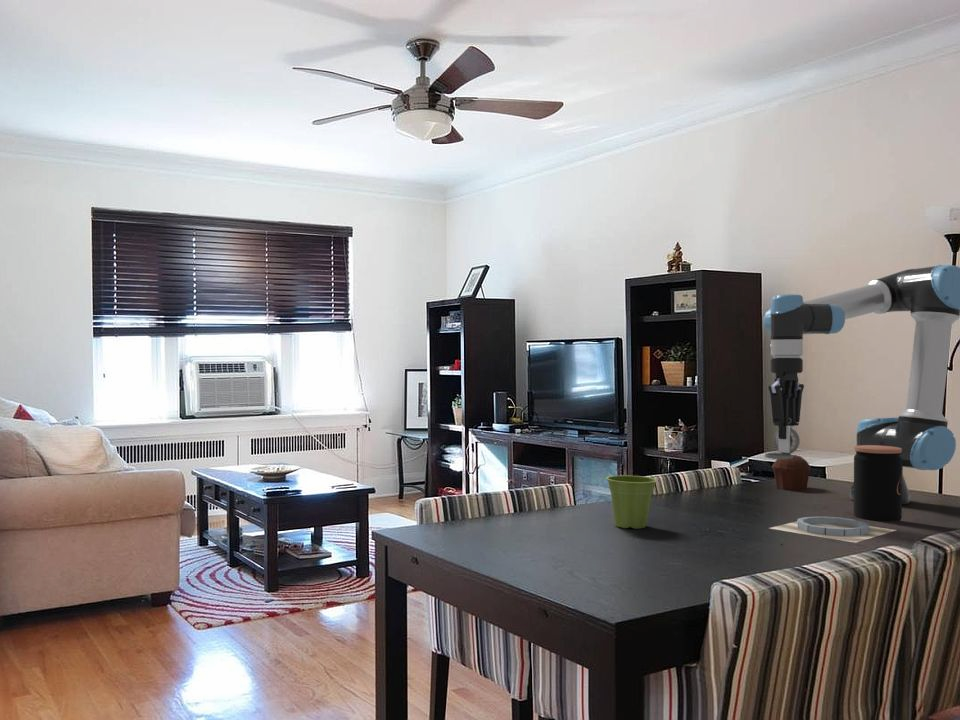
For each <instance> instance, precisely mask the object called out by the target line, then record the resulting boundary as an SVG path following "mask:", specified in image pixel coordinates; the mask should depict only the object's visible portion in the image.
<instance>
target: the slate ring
mask: <svg viewBox="0 0 960 720" xmlns="http://www.w3.org/2000/svg"><path fill="white" fill-rule="evenodd" d="M811 524H835V525H844V526H850V527H854V528H831V527H822V526H815V525H811ZM869 526H870V525H869V524H868V523H867V522H865V521H863V520H862V521H861V520H858V519H853V518H845V517H838V516H837V517H836V516H823V515H822V516H805V517H800V518H799V517H798V518H797V527H798V529H800V530H803V531H806V532H810V533H816V534H822V535H825V534H826V535H833V536H860V535H864V534H868V533H869Z"/></svg>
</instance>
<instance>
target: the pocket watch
mask: <svg viewBox="0 0 960 720" xmlns="http://www.w3.org/2000/svg"><path fill="white" fill-rule="evenodd" d="M788 418H789V417H788ZM789 419H790V420H791V418H789ZM791 421H792V420H791ZM791 421H790V422H789V423H791ZM789 423H788V424H789ZM791 437H792V438H791ZM792 439H793V440H792ZM791 440H792V441H791ZM800 440H801V439H800V436H799V434H798V432H797V431H796V430H795V429H794V430H793V429H792V428H790V453H784V452H774V453H773V452H771V453H770V452H768V453H764V457H765V458H767V459H772V460H777V459H791V458H793V455H794V454H793V453H795V452H796V451H797V450H798V448H799V446H800ZM792 442H793V443H792ZM791 443H792V444H791ZM773 444H774V448H776V450H777V451H778V429H777V430H776V431H775V432H774V435H773Z"/></svg>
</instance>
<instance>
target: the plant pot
mask: <svg viewBox="0 0 960 720" xmlns="http://www.w3.org/2000/svg"><path fill="white" fill-rule="evenodd" d="M605 479H606V481H607V482H608V488H609V491H610V495H611V496H610V497H611V505H612V510H613V512H612V513H613V520H614V524H615V527H617V528H622V529H628V528H632V529H635V530H639V529H645V528H646V527H647V522H648V518H649V512H650V507H651V500H652V497H653V492H654V489H655V485H656V483H657V482H658V480H657V478H653V477H649V476H643V475H642V476H641V475H611V476H606V477H605Z"/></svg>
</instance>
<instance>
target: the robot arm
mask: <svg viewBox="0 0 960 720" xmlns="http://www.w3.org/2000/svg"><path fill="white" fill-rule="evenodd" d="M893 312H910V316H911V317H912V318H913V320H914V321H915V327H914V328H915V329H914V334H913V335H914V336H913V344H912V352H911V353H912V354H911V362H910V371H909V379H908V388H907V395H906V396H907V398H906V405H905V406H906V407H905V409H904V411H902V412H901V413H900V414H899V415H898V416H897V417H896V416H895V417H879V418H877V417H876V418H875V417H874V418H873V417H872V418H865V419H864V418H863V419H861V420H859V421H858V423H857V430H856V446H860V445H876V446H891V447H898V448H901V449H902V452H901V454H900V457H901V458H902V505H908V504H909V503H910V500H911V496H910V491H909V489H908V486H907V483H906V480H905V476H904V473H903V472H904V470H903V469H904V468H909V469H916V470H920V471H937V470H940V469H942V468H945V466H946V465H948V464H949V463H950V462H951V461H952V459H953V458H954V455H955V452H956V449H957V441H956V437H955V436H954V433H953V431H952V430H951V429H950V428H948V424H949V423H948V419H947V418H946V417H945V416H944V414H943V407H944V399H945V389H946V383H947V374H948V373H947V372H948V364H949V355H950V346H951V338H952V337H951V336H952V331H953V329H952V327H953V324H954V323H955V322H956V321H958V320H959V319H960V266H957V265H953V264H948V265H947V264H945V265H944V264H937V265H933V266H926V267H919V268H918V267H917V268H909V269H905V270H901V271H898V272H895V273H892V274H889V275H886V276H883V277H880V278H877V279H873V280H870V281H869V282H867V284H866V285H865V286H860V287H856V288H851V289H848V290H844V291H841V292H836V293H833V294H829V295H825V296H820V297H817V298H812V299H810V300H805V301H804V297H803V295H801V294H778V295H777V294H776V295H774V296H773V297H772V298H771V300H770V308H769V309H768V310H767V311H766V312H765V314H764V317H763V325H764V329H765V330H766V331H767V333H769V334H770V344H769V346H770V355H771V356H772V358H771V359H770V372H771V373H774V375H775V377H774V380H773V381H774V382H773V384H768V391H769V394H770V395H769V396H770V403H771V415H772V423H773V426H775V427H776V426H777V427H778V429H777V430H778V450H777V453H781V452H784V453H790V428H792V429H793V430H795V426H796V427H797V426H799V424H800V419H801V409H802V399H803V392H804V387H805V385H804V384H803V383H799V376H798V374H802V373H803V371H804V369H803V368H804V367H803V366H804V365H803V364H804V363H803V362H804V359H802V358H803V357H801V356H803V355H804V350H803V349H804V348H803V347H804V344H803V342H804V335H822V334H824V335H831V334H832V335H834V334H837V333H839V332H841V331H842V330H843V328H844V326H845V323H846V320H849V319H852V318H856V317H857V318H858V317H860V316H863V315H867V314H871V313H874V314H877V315H881V314H886V313H893ZM788 417H789V418H791V420H792V421H791V420H790V419H789V418H788ZM790 421H791V423H789V422H790ZM788 423H789V424H788ZM791 438H792V437H791ZM792 440H793V439H792ZM792 440H791V441H792ZM792 443H793V442H792ZM792 443H791V444H792ZM790 454H791V453H790ZM849 499H850V500H851V501H854V481H853V482H852V485H851V488H850V491H849Z"/></svg>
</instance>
